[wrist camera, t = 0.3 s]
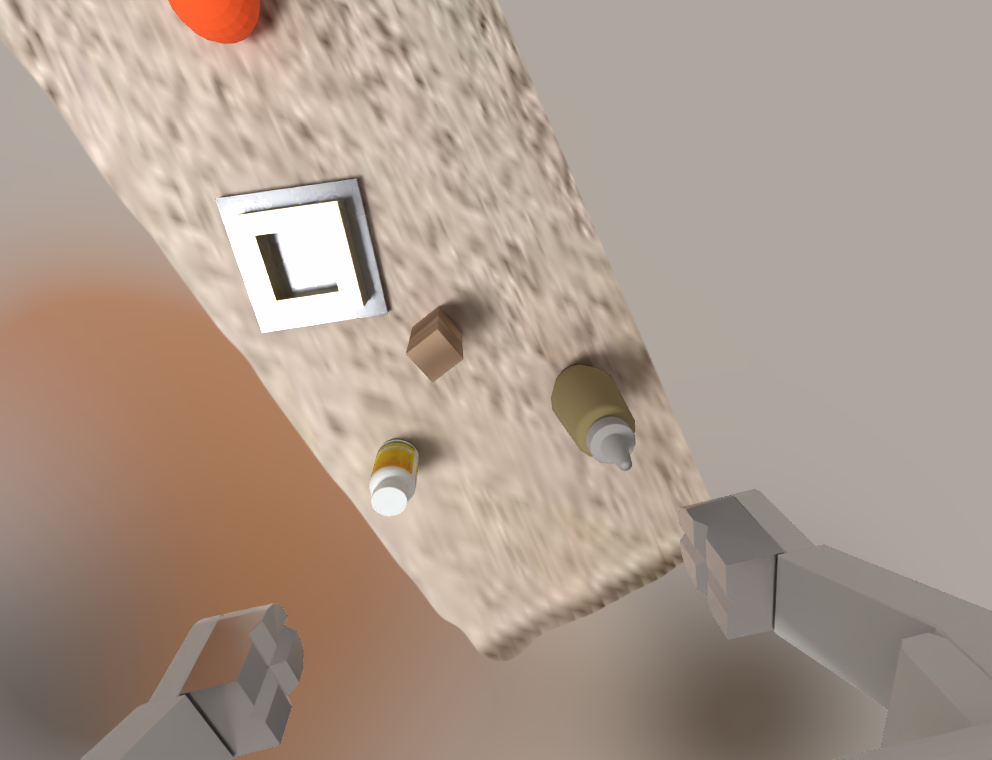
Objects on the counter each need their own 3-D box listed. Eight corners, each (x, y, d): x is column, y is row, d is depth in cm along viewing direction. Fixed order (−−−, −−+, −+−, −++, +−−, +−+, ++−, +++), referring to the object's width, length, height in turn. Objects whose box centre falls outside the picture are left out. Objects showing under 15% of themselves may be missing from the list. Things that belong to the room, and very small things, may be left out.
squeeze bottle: (620, 385, 60) (685, 464, 43) (571, 425, 62) (617, 515, 45) (581, 342, 57) (635, 409, 41) (532, 385, 59) (564, 466, 42)
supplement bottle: (425, 465, 62) (421, 512, 53) (387, 478, 62) (378, 528, 53) (408, 432, 60) (401, 475, 51) (369, 446, 60) (356, 492, 51)
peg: (412, 327, 54) (406, 353, 46) (439, 305, 54) (437, 329, 46) (435, 353, 56) (433, 383, 48) (462, 332, 55) (464, 360, 47)
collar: (219, 198, 47) (200, 199, 44) (358, 178, 48) (350, 178, 44) (265, 329, 53) (251, 341, 49) (388, 311, 53) (384, 321, 50)
